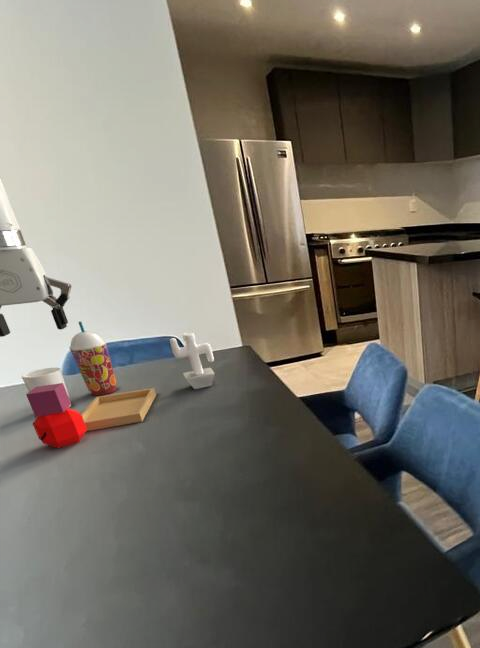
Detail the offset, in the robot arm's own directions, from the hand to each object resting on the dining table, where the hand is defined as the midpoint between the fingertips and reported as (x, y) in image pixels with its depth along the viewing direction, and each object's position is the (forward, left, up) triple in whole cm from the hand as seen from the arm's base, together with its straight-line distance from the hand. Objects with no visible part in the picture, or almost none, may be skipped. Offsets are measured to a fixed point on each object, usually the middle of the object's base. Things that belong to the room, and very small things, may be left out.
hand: (34, 331), depth 98 cm
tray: (+5, +15, -25) cm, 29 cm away
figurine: (+23, +27, -25) cm, 43 cm away
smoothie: (-3, +36, -25) cm, 44 cm away
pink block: (-2, 0, -17) cm, 17 cm away
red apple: (-2, 0, -25) cm, 25 cm away
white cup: (-12, +27, -25) cm, 39 cm away
